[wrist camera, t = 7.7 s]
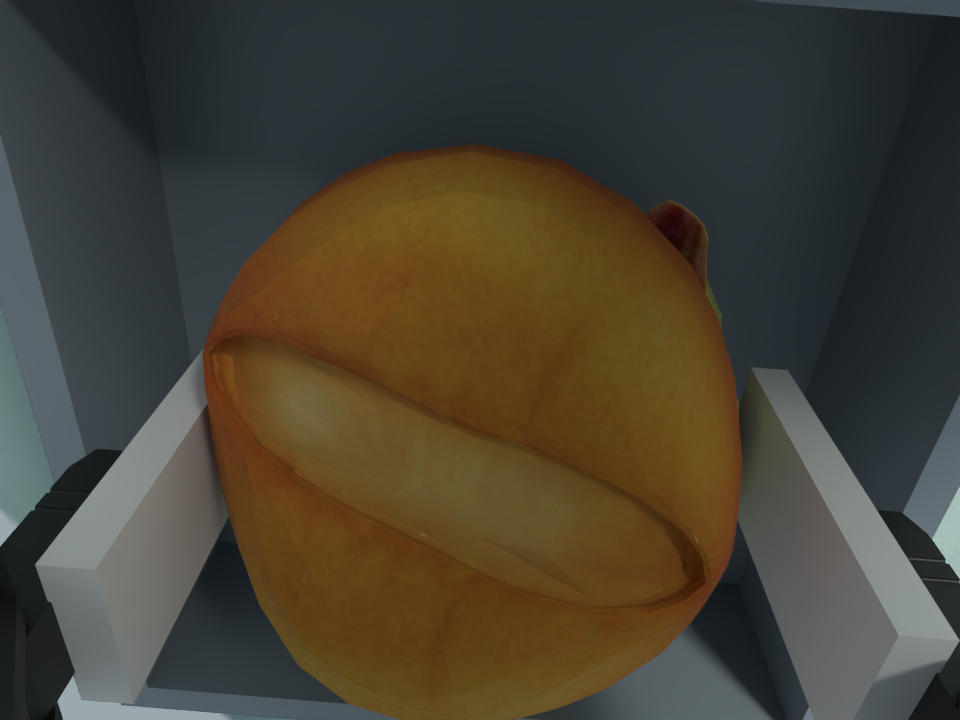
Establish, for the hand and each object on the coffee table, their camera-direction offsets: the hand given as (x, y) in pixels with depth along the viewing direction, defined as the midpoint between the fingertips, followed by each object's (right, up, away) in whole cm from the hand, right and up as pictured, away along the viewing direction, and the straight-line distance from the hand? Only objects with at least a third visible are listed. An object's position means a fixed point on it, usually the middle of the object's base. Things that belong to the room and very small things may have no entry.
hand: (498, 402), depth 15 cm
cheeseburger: (0, +1, +2) cm, 3 cm away
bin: (0, +2, +4) cm, 4 cm away
